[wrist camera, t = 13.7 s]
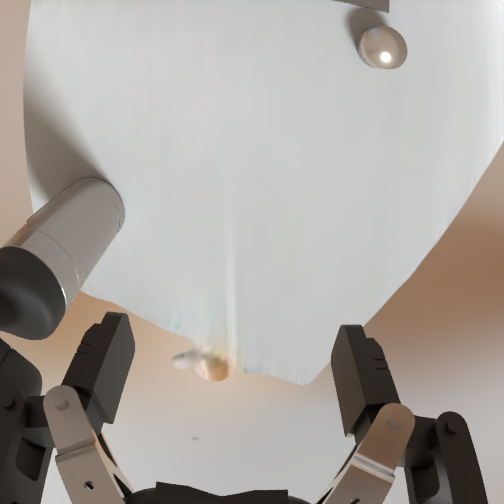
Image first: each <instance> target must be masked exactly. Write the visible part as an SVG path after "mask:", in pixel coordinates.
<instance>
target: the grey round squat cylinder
mask: <svg viewBox="0 0 504 504" xmlns="http://www.w3.org/2000/svg"><path fill="white" fill-rule="evenodd" d="M357 51H358V54H359V56H360V58H361V59H362V61H363V62H364V63H366V64H367V65H368V66H370V67H372V68H376V69H395V68H398V67H399V66H401V65H402V64H403V63H404V61H405V60H406V57H407V45H406V42H405V40H404V38H403V37H402V36H401V34H400V33H399V32H397V31H396V30H394V29H393V28H390V27H387V26H379V27H375V28H371V29H368V30H366V31H364V32H363V33H361V35H360V36H359V38H358V40H357Z"/></svg>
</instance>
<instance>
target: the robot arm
mask: <svg viewBox="0 0 504 504" xmlns="http://www.w3.org/2000/svg"><path fill="white" fill-rule="evenodd" d="M124 217H125V215H124V206H123V203H122V200H121V198H120V196H119V195H118V193H117V192H116V190H115V189H114V188H113V187H112V186H111V185H109V184H108V183H106V182H105V181H102V180H100V179H97V178H84V179H81V180H79V181H77V182H76V183H74V184H73V185H72V186H70V187H69V188H68V189H64V190H62V191H61V192H60V193H59V194H57V195H56V196H55V197H54V198H52V199H51V200H50V201H49V202H48V203H46V204H45V205H44V206H43V207H42V208H40V209H39V210H38V211H37V212H36V213H35V214H33V215H32V216H31V217H30V218H29V219H28V220H27V223H26V224H25V225H24V226H23V227H22V228H21V229H20V230H19V231H18V232H17V233H16V234H15V235H14V236H13V237H12V238H11V239H10V240H9V241H7V242H6V243H5V244H4V245H3V246H2V247H1V248H0V331H4V332H7V333H10V334H13V335H16V336H18V337H21V338H25V339H29V340H42V339H45V338H47V337H49V336H50V335H51V334H52V333H53V332H54V331H55V329H56V328H57V327H58V325H59V323H60V321H61V320H62V318H63V316H64V315H65V313H66V311H67V310H68V308H69V306H70V305H71V303H72V301H73V300H74V298H75V296H76V295H77V293H78V292H79V290H80V288H81V287H82V285H83V284H84V282H85V281H86V279H87V278H88V276H89V274H90V273H91V271H92V270H93V268H94V267H95V265H96V264H97V262H98V261H99V259H100V258H101V256H102V255H103V253H104V252H105V251H106V249H107V248H108V246H109V245H110V243H111V242H112V240H113V239H114V238H115V236H116V235H117V233H118V232H119V231H120V229H121V227H122V225H123V222H124ZM134 352H135V341H134V337H133V333H132V330H131V326H130V322H129V318H128V315H127V314H126V313H117V312H107V313H106V314H105V316H104V318H103V320H102V322H101V324H96V323H95V324H94V325H93V326H91V327H90V329H88V330H87V331H86V332H85V335H84V336H83V339H82V340H81V344H80V345H79V347H78V349H77V353H75V355H74V357H73V360H72V362H71V364H70V366H69V368H68V370H67V373H66V375H65V377H64V379H63V382H62V384H61V385H59V386H56V387H53V388H52V389H50V390H49V391H48V392H47V393H46V395H44V396H40V394H41V390H42V377H41V374H40V372H39V370H38V369H37V368H36V367H35V366H34V365H33V364H32V363H30V362H29V361H28V360H27V359H25V358H24V357H23V356H22V355H20V354H19V353H18V352H17V351H16V350H14V349H13V348H12V349H11V347H10V346H9V345H8V344H7V343H6V342H4V341H3V340H2V339H1V338H0V504H40V503H41V498H42V493H43V489H44V484H45V479H46V475H47V471H48V466H49V463H50V458H51V454H52V451H53V448H56V449H57V453H58V455H57V456H55V461H56V465H57V467H58V470H59V473H60V475H61V478H62V480H63V483H64V485H65V488H66V490H67V493H68V495H69V497H70V499H71V502H72V504H310V503H309V502H307V501H304V500H302V499H299V498H296V497H293V496H288V490H254V491H249V492H244V493H239V494H233V495H227V496H217V495H214V494H211V493H208V492H204V491H201V490H198V489H195V488H192V487H189V486H184V485H176V484H169V483H162V482H156V488H149V489H144V490H140V491H138V492H134V490H133V488H132V486H131V485H130V483H129V482H128V480H127V479H126V477H125V476H124V474H123V473H122V471H121V470H120V468H119V466H118V464H117V462H116V460H115V458H114V456H113V454H112V452H111V450H110V448H109V446H108V444H107V442H106V440H105V438H104V435H103V433H102V431H101V429H102V425H103V422H105V423H109V424H113V422H114V419H115V415H116V412H117V408H118V405H119V402H120V398H121V394H122V392H123V388H124V385H125V381H126V378H127V375H128V372H129V369H130V366H131V363H132V360H133V357H134ZM331 367H332V371H333V376H334V381H335V386H336V391H337V396H338V401H339V407H340V412H341V417H342V422H343V428H344V433H345V437H353V436H355V441H356V444H355V445H354V447H353V449H352V450H351V452H350V454H349V455H348V457H347V459H346V460H345V461H344V463H343V465H342V466H341V468H340V469H339V471H338V472H337V474H336V475H335V477H334V478H333V480H332V481H331V482H330V484H329V485H328V486H327V488H326V489H325V490H324V491H323V493H322V494H321V496H320V497H319V498H318V499H317V501H316V502H315V503H314V504H382V503H383V501H384V500H385V498H386V496H387V494H388V492H389V490H390V488H391V486H392V484H393V482H394V479H395V476H394V475H393V474H394V471H395V469H396V467H397V466H398V467H404V471H405V477H406V483H407V489H408V496H409V503H410V504H488V501H487V496H486V492H485V487H484V483H483V479H482V475H481V471H480V467H479V464H478V460H477V456H476V452H475V449H474V446H473V443H472V439H471V436H470V433H469V429H468V426H467V423H466V421H465V420H464V418H463V417H462V416H461V415H459V414H458V413H455V412H450V411H449V412H444V413H442V414H441V415H440V416H439V417H438V418H437V419H433V418H426V417H420V416H415V415H413V413H412V412H411V411H410V409H408V408H407V407H406V406H404V405H402V404H401V402H400V400H399V397H398V394H397V390H396V387H395V384H394V382H393V379H392V376H391V373H390V370H389V369H388V364H387V362H386V361H385V356H384V353H383V350H382V347H380V345H379V344H378V343H377V342H376V341H375V339H374V338H366V336H365V333H364V330H363V327H362V326H361V325H341V326H340V328H339V331H338V335H337V338H336V341H335V344H334V347H333V350H332V354H331Z"/></svg>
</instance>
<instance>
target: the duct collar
mask: <svg viewBox="0 0 504 504" xmlns="http://www.w3.org/2000/svg"><path fill="white" fill-rule="evenodd" d="M334 1H339V2H344V3H349V4H354V5H358V6H363V7H367V8H371V9H375V10H379V11H383V12H386V13H389V0H334Z"/></svg>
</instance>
